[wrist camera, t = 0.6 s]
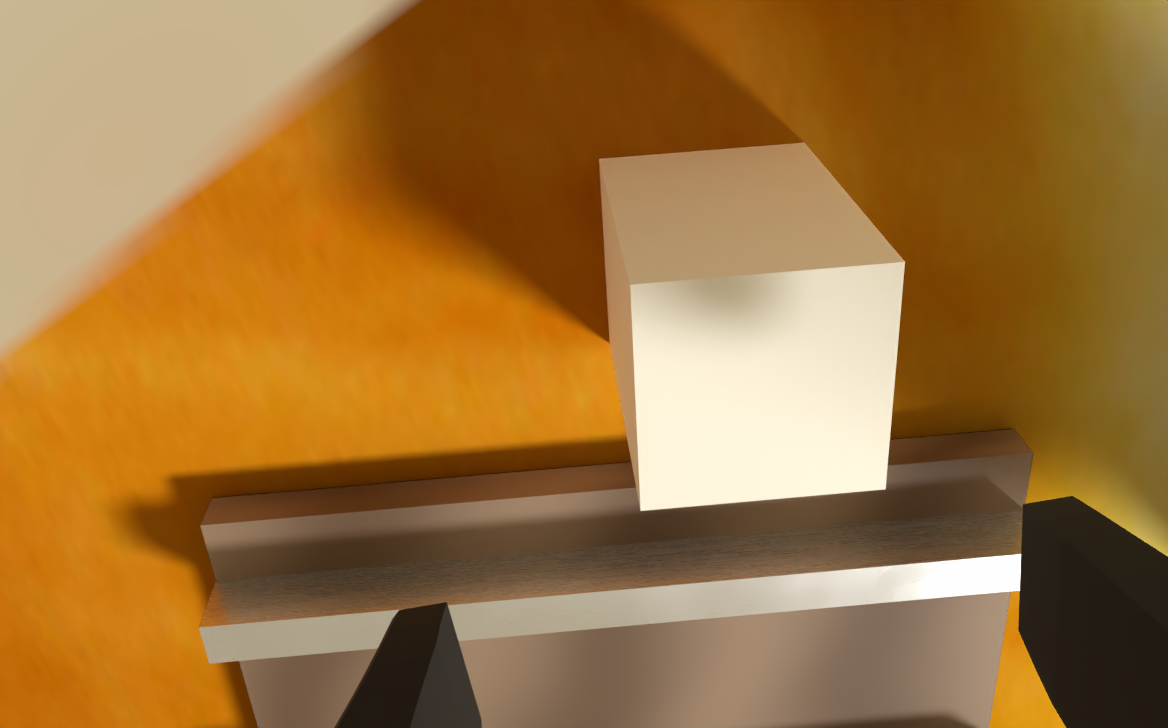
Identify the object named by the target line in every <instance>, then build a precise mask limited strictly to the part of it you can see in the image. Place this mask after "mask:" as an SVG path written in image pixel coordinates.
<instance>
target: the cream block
mask: <svg viewBox="0 0 1168 728" xmlns="http://www.w3.org/2000/svg"><path fill="white" fill-rule="evenodd" d="M599 167H600V185H601V202H602V220H603V237H604V255H605V272H606V289H607V307H608V324H609V342H610V348H611V353H612V359H613V364H614V370H615V375H616V381H617V386H618V391H619V397H620V402H621V408H622V413H623V418H624V424H625V429H626V435H627V440H628V446H629V451H630V456H631V462H632V467H633V473H634V478H635V483H636V489H637V494H638V500H639V505H640V511H646V510H658V509H669V508H680V507H691V506H703V505H714V504H725V503H737V502H748V501H759V500H771V499H782V498H793V497H805V496H816V495H827V494H838V493H850V492H861V491H872V490H884V489H886V478H887V467H888V455H889V443H890V432H891V420H892V408H893V397H894V385H895V373H896V362H897V350H898V338H899V327H900V315H901V304H902V292H903V280H904V269H905V261H904V260H903V259H902V258H901V256H900V255H899V254H898V253H897V252H896V251H895V249H894V248H893V247H892V246H891V245H890V243H889V242H888V241H887V240H886V239H885V237H884V236H883V235H882V234H881V233H880V232H879V230H878V229H877V228H876V227H875V226H874V224H873V223H872V222H871V221H870V220H869V218H868V217H867V216H866V215H865V214H864V213H863V211H862V210H861V209H860V208H859V207H858V205H857V204H856V203H855V202H854V201H853V199H852V198H851V197H850V196H849V195H848V193H847V192H846V191H845V190H844V189H843V188H842V186H841V185H840V184H839V183H838V182H837V180H836V179H835V178H834V177H833V176H832V174H831V173H830V172H829V171H828V170H827V169H826V167H825V166H824V165H823V164H822V163H821V161H820V160H819V159H818V158H817V157H816V155H815V154H814V153H813V152H812V151H811V150H810V148H809V147H808V146H807V145H806V144H805V143H793V144H780V145H767V146H755V147H742V148H730V149H717V150H704V151H692V152H679V153H667V154H654V155H641V156H629V157H616V158H604V159H599Z"/></svg>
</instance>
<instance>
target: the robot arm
mask: <svg viewBox="0 0 1168 728" xmlns="http://www.w3.org/2000/svg"><path fill="white" fill-rule="evenodd" d="M1019 632H1020V635H1021V637H1022V639H1023V641H1024V644H1025V646H1026V648H1027V650H1028V653H1029V655H1030V657H1031V659H1032V662H1033V664H1034V666H1035V668H1036V671H1037V673H1038V675H1039V677H1040V679H1041V681H1042V683H1043V686H1044V688H1045V690H1046V692H1047V694H1048V696H1049V698H1050V700H1051V702H1052V704H1053V706H1054V708H1055V709H1056V711H1057V713H1058V714H1059V716H1060V718H1061V719H1062V721H1063V723H1064V724H1065V726H1066V728H1168V557H1167V556H1166V555H1164V554H1163V553H1161V552H1159V551H1158V550H1156V549H1155V548H1153V547H1152V546H1150V545H1148V544H1147V543H1145V542H1144V541H1142V540H1141V539H1139V538H1138V537H1136V536H1135V535H1133V534H1131V533H1130V532H1128V531H1127V530H1125V529H1124V528H1122V527H1121V526H1119V525H1118V524H1116V523H1115V522H1113V521H1111V520H1110V519H1108V518H1107V517H1105V516H1104V515H1102V514H1101V513H1099V512H1097V511H1096V510H1094V509H1093V508H1091V507H1090V506H1088V505H1086V504H1085V503H1083V502H1082V501H1080V500H1078V499H1077V498H1075V497H1073V496H1070V497H1064V498H1058V499H1052V500H1046V501H1040V502H1034V503H1028V504H1023V514H1022V543H1021V573H1020V602H1019ZM334 728H482V719H481V716H480V712H479V709H478V706H477V702H476V699H475V696H474V692H473V689H472V685H471V682H470V679H469V675H468V672H467V668H466V665H465V662H464V658H463V655H462V652H461V648H460V645H459V641H458V638H457V635H456V631H455V628H454V625H453V621H452V618H451V614H450V611H449V608H448V604H447V602H444V603H438V604H432V605H426V606H420V607H414V608H409V609H403V610H399V611H398V612H397V614H396V615H395V616H394V617H393V619H392V621H391V623H390V625H389V627H388V629H387V631H386V633H385V635H384V637H383V639H382V641H381V643H380V645H379V647H378V649H377V651H376V653H375V655H374V657H373V658H372V660H371V662H370V664H369V666H368V668H367V670H366V672H365V674H364V676H363V677H362V679H361V681H360V683H359V685H358V687H357V689H356V690H355V692H354V694H353V696H352V698H351V700H350V701H349V703H348V705H347V707H346V708H345V710H344V712H343V713H342V715H341V717H340V719H339V720H338V722H337V724H336V726H335V727H334Z"/></svg>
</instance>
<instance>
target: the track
mask: <svg viewBox="0 0 1168 728" xmlns="http://www.w3.org/2000/svg"><path fill="white" fill-rule="evenodd" d="M1032 458H1033V452H1032V451H1031V450H1030V448H1029V447H1028V446H1027V444H1026V443H1025V442H1024V441H1023V439H1022V438H1021V437H1020V436H1019V434H1018V433H1017V432H1016V430H1015V429H1008V430H996V431H985V432H973V433H961V434H950V435H938V436H927V437H915V438H904V439H892V440H890V443H889V455H888V467H887V478H886V489H884V490H872V491H861V492H850V493H838V494H827V495H816V496H805V497H793V498H782V499H771V500H759V501H748V502H737V503H725V504H714V505H703V506H691V507H680V508H669V509H658V510H646V511H640V505H639V500H638V494H637V489H636V483H635V478H634V473H633V467H632V462H626V463H614V464H603V465H591V466H580V467H568V468H557V469H545V470H534V471H522V472H510V473H499V474H487V475H476V476H464V477H453V478H441V479H429V480H418V481H406V482H395V483H383V484H372V485H360V486H348V487H337V488H325V489H314V490H302V491H291V492H279V493H268V494H256V495H244V496H233V497H221V498H211V501H210V503H209V506H208V508H207V510H206V513H205V515H204V517H203V520H202V522H201V525H200V527H201V530H202V534H203V537H204V541H205V544H206V548H207V551H208V555H209V558H210V562H211V565H212V569H213V572H214V576H215V579H216V582H215V584H214V587H213V590H212V593H211V595H210V598H209V601H208V603H207V606H206V609H205V612H204V614H203V617H202V620H201V622H200V625H199V631H200V634H201V637H202V641H203V644H204V647H205V650H206V654H207V657H208V660H209V664H211V663H222V662H233V661H239V663H240V667H241V670H242V674H243V677H244V681H245V684H246V688H247V691H248V695H249V698H250V702H251V705H252V708H253V712H254V715H255V719H256V722H257V726H258V728H334V727H335V726H336V724H337V722H338V720H339V719H340V717H341V715H342V713H343V712H344V710H345V708H346V707H347V705H348V703H349V701H350V700H351V698H352V696H353V694H354V692H355V690H356V689H357V687H358V685H359V683H360V681H361V679H362V677H363V676H364V674H365V672H366V670H367V668H368V666H369V664H370V662H371V660H372V658H373V657H374V655H375V653H376V651H377V649H378V647H379V645H380V643H381V641H382V639H383V637H384V635H385V633H386V631H387V629H388V627H389V625H390V623H391V621H392V619H393V617H394V616H395V615H396V614H397V612H398V611H399V610H403V609H409V608H414V607H420V606H426V605H432V604H438V603H444V602H447V604H448V608H449V611H450V614H451V618H452V621H453V625H454V628H455V631H456V635H457V638H458V641H459V645H460V648H461V652H462V655H463V658H464V662H465V665H466V668H467V672H468V675H469V679H470V682H471V685H472V689H473V692H474V696H475V699H476V702H477V706H478V709H479V712H480V716H481V719H482V728H989V724H990V718H991V711H992V705H993V699H994V693H995V687H996V681H997V674H998V668H999V662H1000V656H1001V650H1002V643H1003V637H1004V631H1005V625H1006V619H1007V613H1008V606H1009V600H1010V594H1011V591H1020V573H1021V543H1022V514H1023V504H1025V501H1026V495H1027V489H1028V483H1029V477H1030V470H1031V464H1032Z"/></svg>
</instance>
